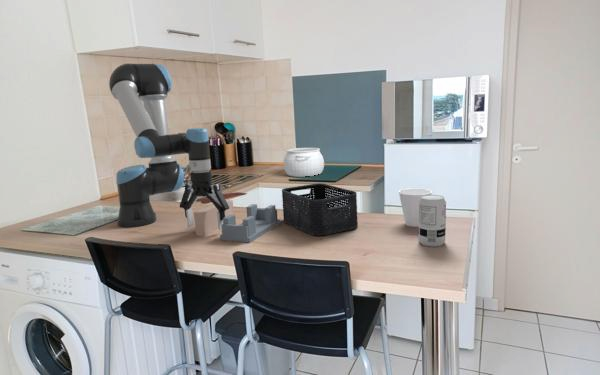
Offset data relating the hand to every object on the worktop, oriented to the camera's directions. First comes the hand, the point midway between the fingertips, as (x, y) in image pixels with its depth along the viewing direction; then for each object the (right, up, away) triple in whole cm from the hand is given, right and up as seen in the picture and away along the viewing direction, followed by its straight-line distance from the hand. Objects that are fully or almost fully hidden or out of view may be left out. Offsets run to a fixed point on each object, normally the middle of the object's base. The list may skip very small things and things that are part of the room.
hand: (205, 227), depth 159 cm
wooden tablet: (-5, +9, +61) cm, 61 cm away
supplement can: (+77, -3, -22) cm, 81 cm away
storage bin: (+42, 0, +5) cm, 43 cm away
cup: (+78, +1, -1) cm, 78 cm away
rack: (+17, -1, 0) cm, 17 cm away
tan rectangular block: (+3, -1, +6) cm, 6 cm away
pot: (+38, +23, +120) cm, 128 cm away
